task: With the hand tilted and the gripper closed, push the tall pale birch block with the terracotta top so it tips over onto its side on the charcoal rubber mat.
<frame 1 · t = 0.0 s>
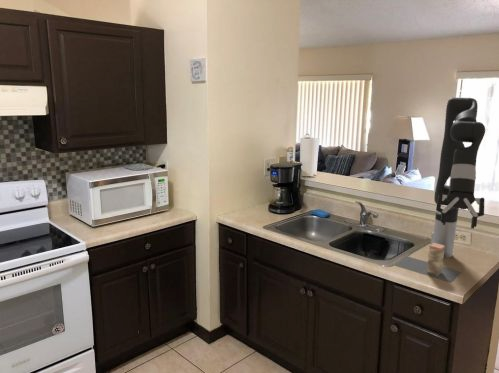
hand: (457, 226, 139), 31 cm above the worktop, tool tilted 20°, fingers open, 8 cm apart
birch block: (434, 272, 175), point 1 cm above the worktop, touching rubber mat
rubber mat: (427, 269, 179), on the worktop
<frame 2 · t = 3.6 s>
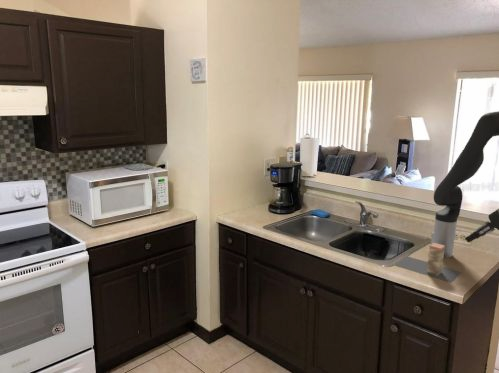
hand: (467, 240, 164), 18 cm above the worktop, tool tilted 45°, fingers closed
nothing on the worktop moved.
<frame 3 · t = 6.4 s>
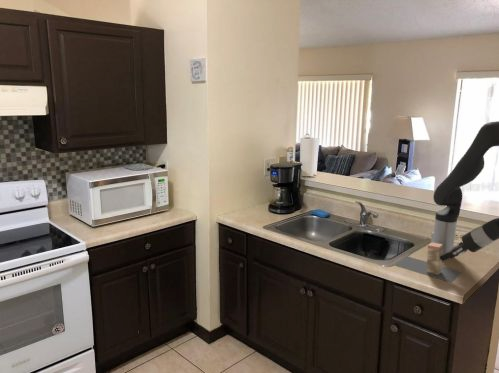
hand: (441, 258, 172), 7 cm above the worktop, tool tilted 45°, fingers closed
birch block: (434, 271, 175), point 1 cm above the worktop, touching gripper, rubber mat
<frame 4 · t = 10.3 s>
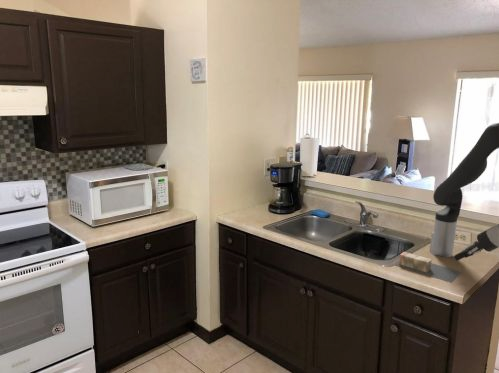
hand: (455, 258, 169), 9 cm above the worktop, tool tilted 45°, fingers closed
birch block: (429, 265, 176), point 3 cm above the worktop, tilted 90°, touching rubber mat
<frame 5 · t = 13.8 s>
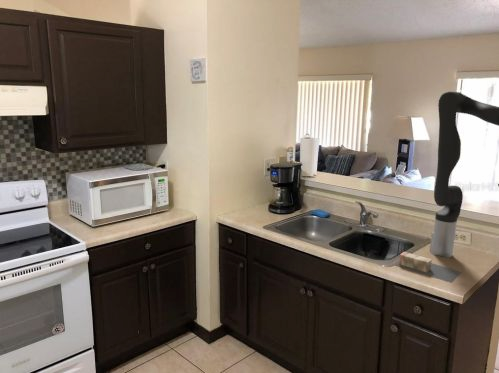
nothing on the worktop moved.
at the end: birch block tilted 90°; birch block inside the target area on the rubber mat (2.1 cm from its centre), point 2.8 cm above the rubber mat's base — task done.
